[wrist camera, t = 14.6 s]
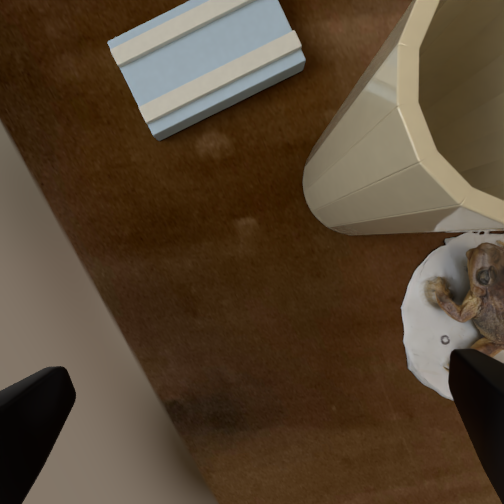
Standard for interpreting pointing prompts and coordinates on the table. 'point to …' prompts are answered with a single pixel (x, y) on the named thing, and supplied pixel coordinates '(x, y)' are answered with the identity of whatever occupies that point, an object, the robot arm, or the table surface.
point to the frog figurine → (455, 306)
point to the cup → (419, 130)
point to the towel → (205, 59)
